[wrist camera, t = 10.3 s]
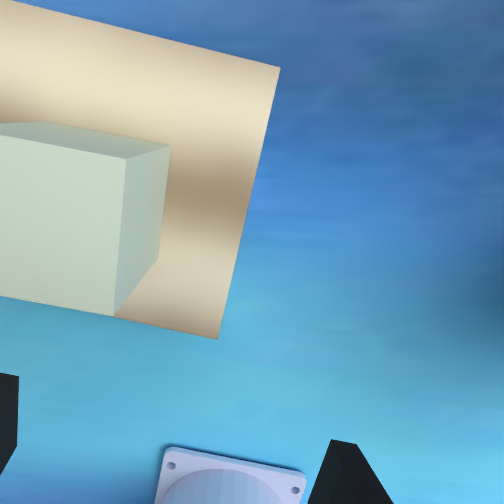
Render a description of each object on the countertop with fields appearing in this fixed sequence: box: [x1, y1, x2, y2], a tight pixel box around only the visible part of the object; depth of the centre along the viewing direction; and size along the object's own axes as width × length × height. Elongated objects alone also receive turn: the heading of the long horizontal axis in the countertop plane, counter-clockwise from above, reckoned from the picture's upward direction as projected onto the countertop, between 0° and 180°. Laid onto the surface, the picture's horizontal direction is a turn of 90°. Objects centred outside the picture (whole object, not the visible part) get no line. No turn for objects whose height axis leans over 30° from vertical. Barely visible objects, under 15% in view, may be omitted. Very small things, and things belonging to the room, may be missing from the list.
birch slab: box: [0, 0, 280, 339], centre depth 17 cm, size 11×11×3 cm
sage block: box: [0, 122, 171, 316], centre depth 13 cm, size 4×4×5 cm
